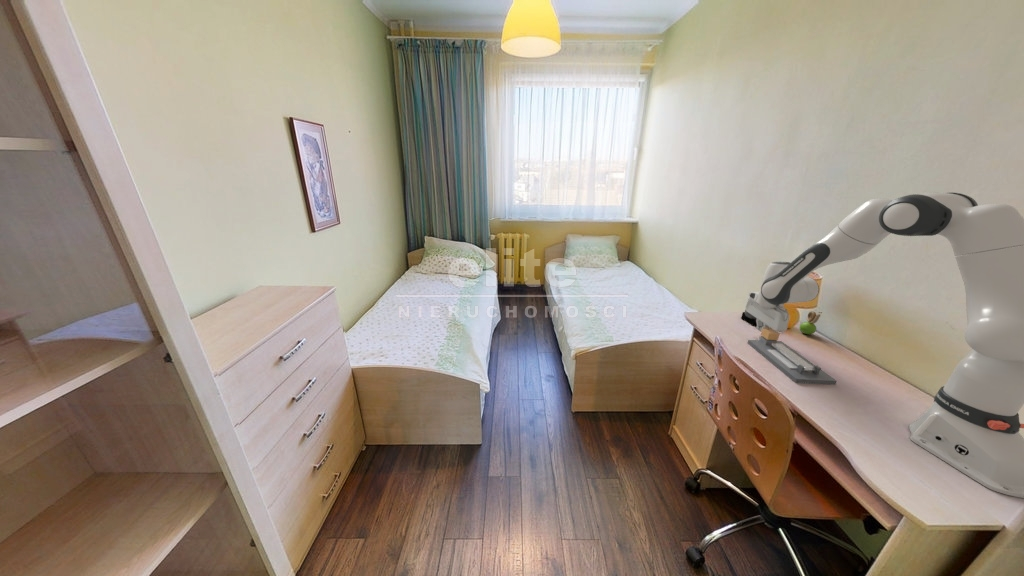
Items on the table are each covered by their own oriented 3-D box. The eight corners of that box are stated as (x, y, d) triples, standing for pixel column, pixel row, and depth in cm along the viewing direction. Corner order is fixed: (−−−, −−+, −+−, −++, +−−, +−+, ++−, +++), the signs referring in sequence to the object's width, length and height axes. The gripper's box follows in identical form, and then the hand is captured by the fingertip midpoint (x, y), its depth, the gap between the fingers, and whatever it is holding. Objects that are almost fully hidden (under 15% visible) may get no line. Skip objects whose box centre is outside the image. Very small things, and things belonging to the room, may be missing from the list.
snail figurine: (803, 336, 140) (813, 311, 135) (795, 329, 145) (804, 305, 141) (818, 338, 138) (828, 312, 134) (809, 331, 144) (818, 306, 140)
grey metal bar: (815, 372, 112) (816, 368, 111) (803, 371, 112) (805, 368, 111) (780, 345, 127) (782, 342, 127) (770, 345, 127) (771, 342, 127)
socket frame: (835, 384, 109) (839, 374, 108) (795, 382, 110) (799, 372, 108) (780, 344, 133) (783, 335, 132) (747, 342, 134) (750, 334, 132)
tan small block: (777, 340, 129) (779, 333, 128) (767, 339, 129) (769, 333, 128) (770, 335, 133) (772, 329, 132) (760, 334, 133) (762, 328, 132)
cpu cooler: (740, 306, 155) (760, 306, 156) (737, 317, 157) (756, 317, 158) (758, 316, 145) (778, 315, 146) (754, 327, 147) (774, 327, 148)
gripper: (798, 311, 121) (786, 343, 126) (761, 291, 140) (753, 320, 145) (780, 310, 121) (769, 343, 126) (746, 290, 140) (738, 319, 145)
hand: (760, 330), depth 136 cm, fingers closed
